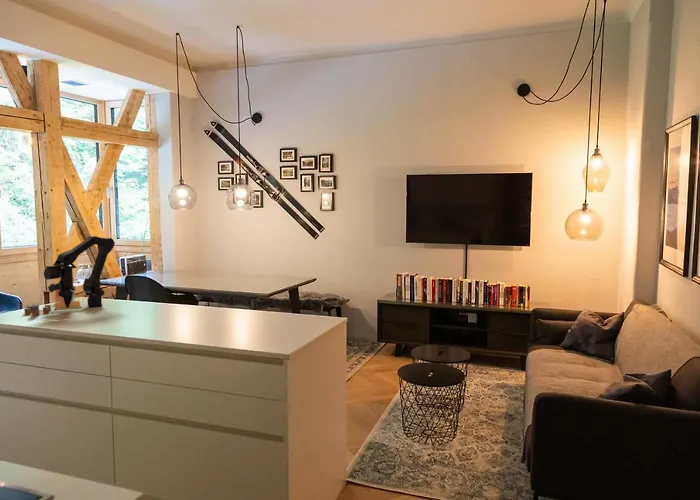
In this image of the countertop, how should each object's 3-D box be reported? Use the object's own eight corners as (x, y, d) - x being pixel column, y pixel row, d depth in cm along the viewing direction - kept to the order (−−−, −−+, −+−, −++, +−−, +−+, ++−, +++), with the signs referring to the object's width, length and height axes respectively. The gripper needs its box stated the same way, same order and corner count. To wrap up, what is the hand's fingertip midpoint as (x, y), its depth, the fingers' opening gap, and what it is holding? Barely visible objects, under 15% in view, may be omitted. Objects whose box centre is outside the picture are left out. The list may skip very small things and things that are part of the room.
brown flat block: (53, 310, 266) (52, 303, 266) (49, 315, 253) (48, 308, 253) (26, 312, 262) (26, 304, 261) (21, 317, 248) (20, 309, 248)
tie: (38, 307, 252) (38, 304, 252) (36, 309, 246) (36, 306, 246) (32, 307, 251) (31, 304, 251) (29, 310, 245) (29, 307, 245)
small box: (55, 304, 284) (54, 286, 283) (63, 302, 289) (63, 284, 288) (66, 305, 282) (66, 286, 281) (75, 303, 287) (74, 285, 286)
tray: (83, 308, 272) (83, 306, 271) (82, 312, 262) (82, 309, 262) (53, 310, 266) (53, 308, 266) (51, 314, 257) (51, 311, 257)
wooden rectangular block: (79, 306, 268) (79, 300, 268) (79, 307, 265) (79, 301, 264) (56, 308, 263) (55, 301, 263) (55, 309, 260) (55, 302, 260)
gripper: (51, 275, 268) (52, 304, 269) (46, 280, 251) (47, 311, 252) (74, 274, 272) (76, 303, 274) (71, 279, 255) (72, 309, 257)
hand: (67, 306), depth 264 cm, fingers closed on wooden rectangular block, 3 cm apart
